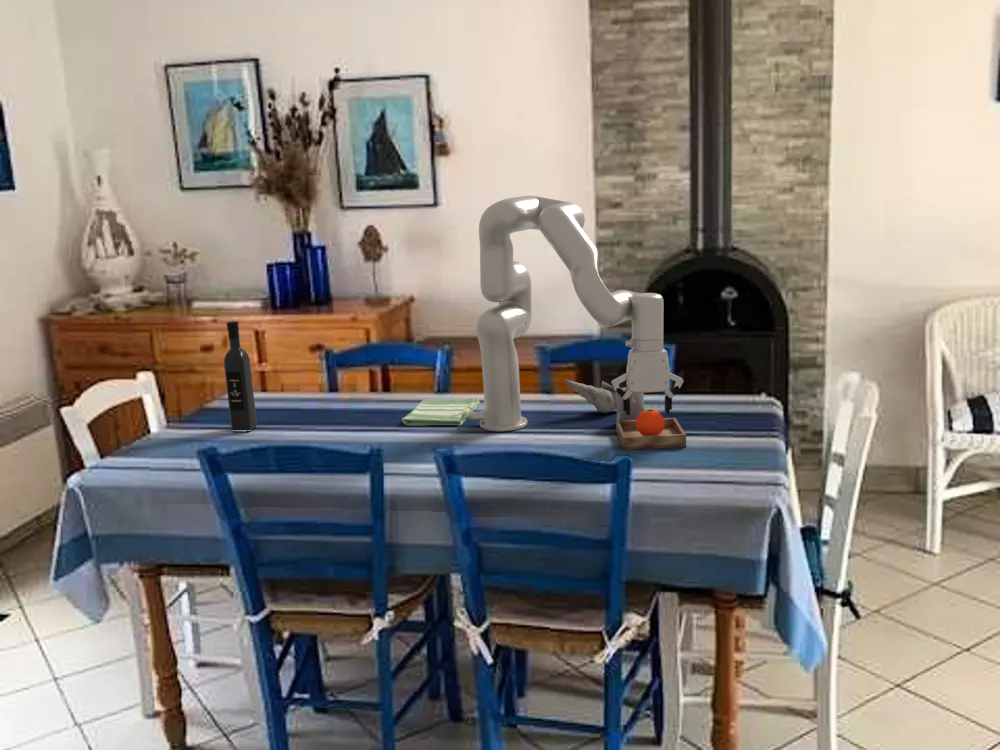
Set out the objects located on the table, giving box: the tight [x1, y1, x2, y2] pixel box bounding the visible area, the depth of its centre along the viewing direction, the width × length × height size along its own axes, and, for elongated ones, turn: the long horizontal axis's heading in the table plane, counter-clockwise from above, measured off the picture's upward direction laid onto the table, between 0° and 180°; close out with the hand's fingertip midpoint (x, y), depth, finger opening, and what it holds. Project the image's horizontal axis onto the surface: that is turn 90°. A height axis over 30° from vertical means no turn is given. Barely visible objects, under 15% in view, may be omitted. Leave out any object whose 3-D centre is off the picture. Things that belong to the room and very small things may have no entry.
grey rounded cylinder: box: [616, 386, 645, 421], centre depth 265 cm, size 7×7×9 cm
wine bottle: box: [223, 320, 258, 431], centre depth 278 cm, size 6×6×30 cm
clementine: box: [636, 407, 664, 436], centre depth 251 cm, size 8×7×7 cm
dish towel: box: [401, 397, 481, 427], centre depth 286 cm, size 18×23×3 cm
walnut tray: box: [615, 417, 687, 451], centre depth 252 cm, size 15×15×3 cm
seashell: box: [563, 379, 617, 414], centre depth 279 cm, size 10×17×10 cm, turn 82°
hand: (647, 413), depth 251 cm, fingers open, 9 cm apart
